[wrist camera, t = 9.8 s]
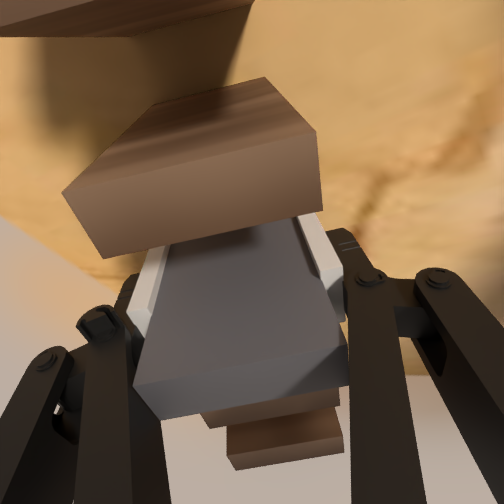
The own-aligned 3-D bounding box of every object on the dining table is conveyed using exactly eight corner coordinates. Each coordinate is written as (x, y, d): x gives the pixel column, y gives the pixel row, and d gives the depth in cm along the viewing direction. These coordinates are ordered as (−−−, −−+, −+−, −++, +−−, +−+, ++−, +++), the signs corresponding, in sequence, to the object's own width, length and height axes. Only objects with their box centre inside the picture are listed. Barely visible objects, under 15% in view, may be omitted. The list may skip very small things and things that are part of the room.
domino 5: (208, 254, 22) (195, 406, 13) (291, 236, 21) (337, 380, 12) (216, 275, 23) (209, 428, 14) (294, 259, 23) (340, 405, 14)
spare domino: (179, 207, 17) (132, 386, 8) (283, 183, 17) (347, 344, 8) (191, 236, 19) (159, 420, 10) (288, 214, 18) (349, 385, 9)
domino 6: (226, 303, 25) (226, 455, 16) (299, 288, 24) (342, 435, 15) (232, 320, 26) (236, 470, 17) (302, 305, 25) (344, 452, 16)
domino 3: (153, 105, 16) (60, 192, 7) (264, 76, 16) (316, 131, 7) (167, 142, 17) (103, 259, 8) (271, 117, 17) (323, 210, 8)
